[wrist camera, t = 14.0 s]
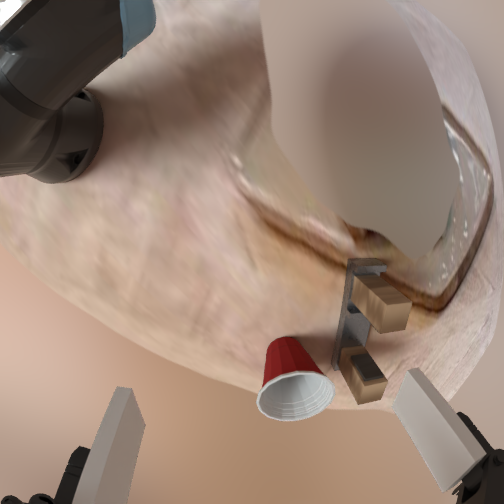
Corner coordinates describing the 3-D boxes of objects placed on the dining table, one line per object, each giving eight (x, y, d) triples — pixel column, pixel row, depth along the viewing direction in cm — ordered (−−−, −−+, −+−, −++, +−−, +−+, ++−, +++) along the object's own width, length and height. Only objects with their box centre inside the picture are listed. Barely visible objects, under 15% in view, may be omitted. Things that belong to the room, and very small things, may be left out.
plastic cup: (237, 355, 44) (239, 408, 32) (281, 311, 42) (298, 359, 30) (283, 383, 46) (295, 432, 35) (326, 344, 44) (350, 391, 33)
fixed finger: (342, 345, 42) (365, 383, 33) (363, 342, 43) (388, 378, 33) (337, 366, 44) (358, 404, 34) (358, 363, 44) (380, 399, 34)
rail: (348, 258, 40) (357, 266, 37) (375, 258, 41) (386, 265, 37) (331, 363, 46) (337, 376, 42) (355, 360, 46) (362, 372, 43)
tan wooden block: (354, 275, 39) (386, 305, 29) (376, 274, 39) (412, 302, 30) (350, 302, 40) (379, 337, 30) (372, 301, 40) (404, 332, 31)
